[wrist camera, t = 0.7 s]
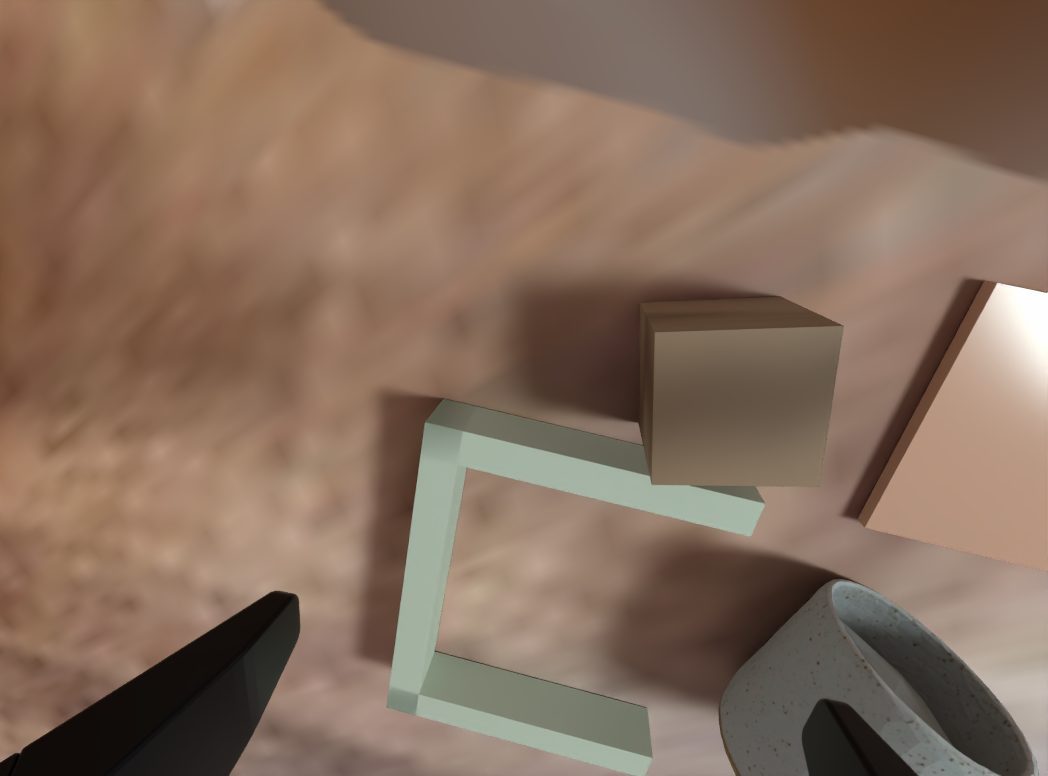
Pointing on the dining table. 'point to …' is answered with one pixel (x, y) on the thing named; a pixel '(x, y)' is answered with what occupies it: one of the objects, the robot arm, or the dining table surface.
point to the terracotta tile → (978, 439)
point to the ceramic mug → (867, 692)
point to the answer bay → (417, 670)
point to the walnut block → (736, 391)
